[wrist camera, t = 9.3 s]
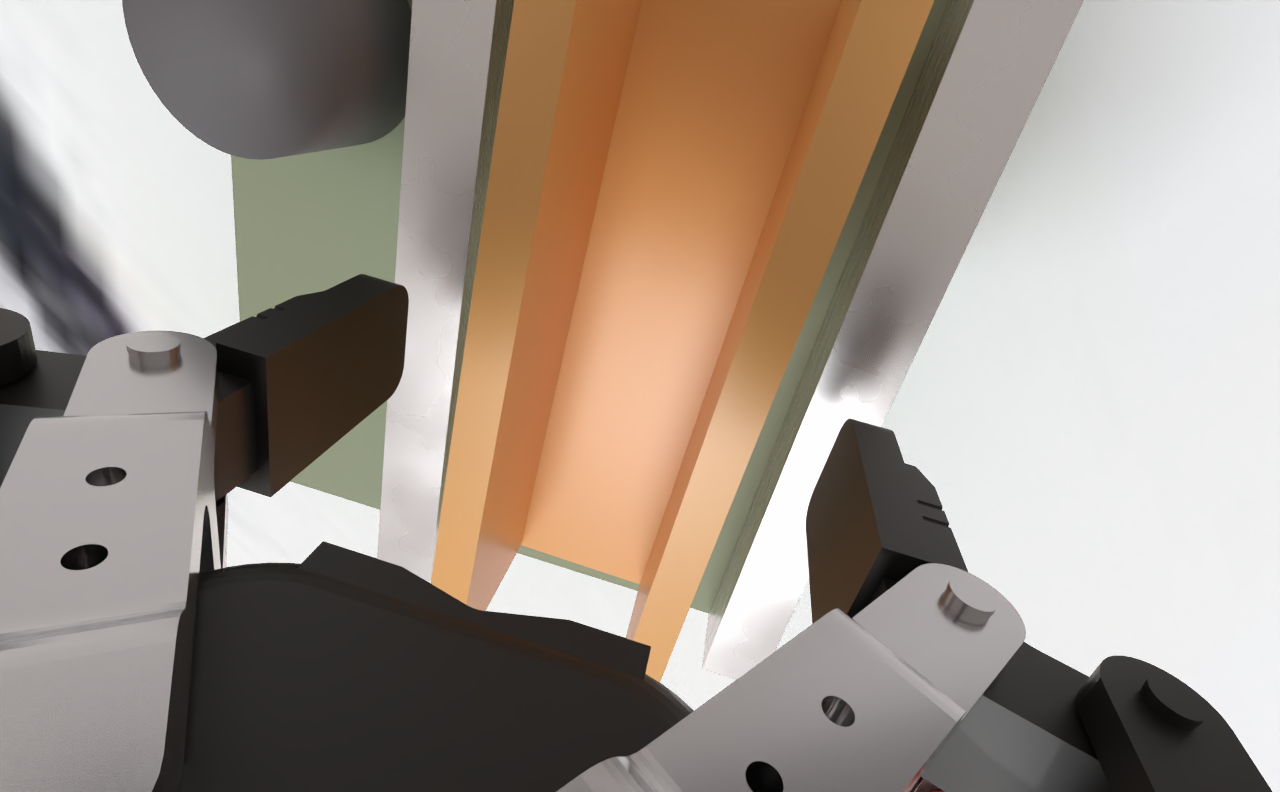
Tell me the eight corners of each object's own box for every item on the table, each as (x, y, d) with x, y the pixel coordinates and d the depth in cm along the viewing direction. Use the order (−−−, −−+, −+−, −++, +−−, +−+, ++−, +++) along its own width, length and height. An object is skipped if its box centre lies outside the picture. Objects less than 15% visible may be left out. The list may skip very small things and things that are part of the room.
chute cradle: (476, -160, 12) (425, -200, 10) (1047, -15, 11) (1099, -32, 10) (413, 519, 19) (377, 564, 18) (759, 629, 19) (758, 686, 17)
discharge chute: (620, -59, 12) (534, -137, 8) (880, 16, 12) (943, -21, 8) (503, 518, 19) (420, 654, 14) (672, 574, 18) (640, 730, 14)
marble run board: (310, -172, 15) (55, -310, 10) (1007, 6, 14) (1150, -38, 9) (310, 421, 22) (165, 528, 17) (768, 563, 21) (767, 723, 16)
